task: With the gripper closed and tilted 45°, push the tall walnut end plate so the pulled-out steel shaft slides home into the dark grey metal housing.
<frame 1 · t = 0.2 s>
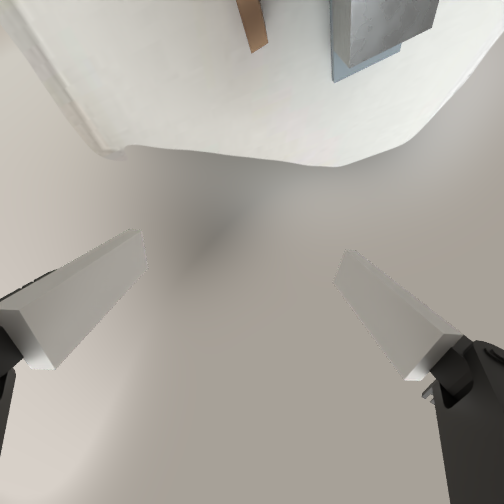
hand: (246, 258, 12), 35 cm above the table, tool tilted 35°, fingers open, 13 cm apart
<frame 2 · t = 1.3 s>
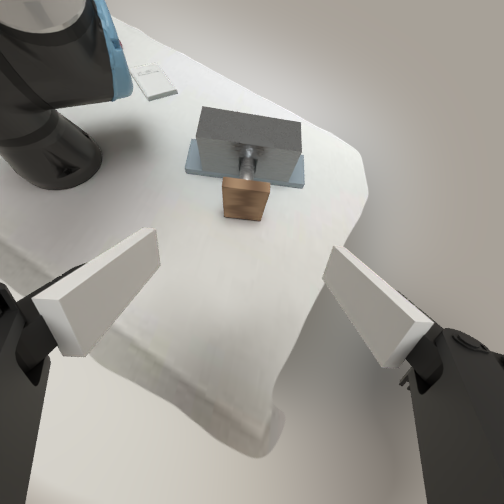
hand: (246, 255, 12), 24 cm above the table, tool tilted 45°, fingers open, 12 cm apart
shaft: (246, 181, 36), point 6 cm above the table, slide at 8.0 cm
housing: (246, 171, 44), on the table
external hard drive: (154, 86, 50), on the table
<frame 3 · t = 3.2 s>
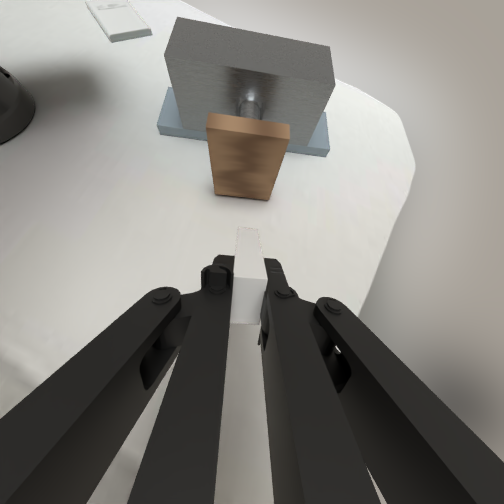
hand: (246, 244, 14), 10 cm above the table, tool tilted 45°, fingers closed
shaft: (247, 136, 23), point 6 cm above the table, slide at 8.0 cm
housing: (247, 132, 31), on the table
external hard drive: (122, 27, 37), on the table
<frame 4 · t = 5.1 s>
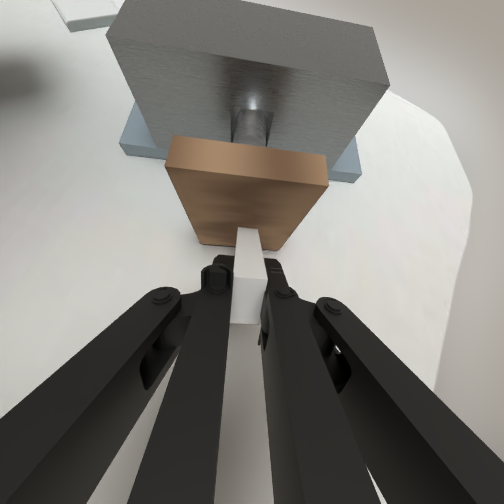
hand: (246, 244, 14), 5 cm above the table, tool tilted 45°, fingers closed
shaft: (248, 163, 15), point 6 cm above the table, slide at 7.8 cm, touching gripper
housing: (247, 150, 23), on the table
external hard drive: (89, 13, 29), on the table
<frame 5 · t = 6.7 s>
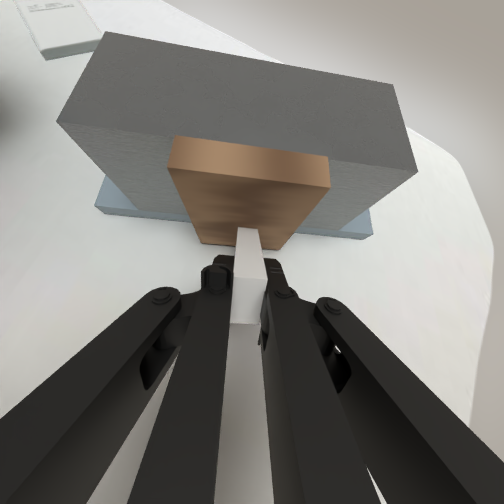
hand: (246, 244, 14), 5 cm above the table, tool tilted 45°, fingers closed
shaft: (249, 163, 15), point 5 cm above the table, slide at -0.1 cm, touching gripper
housing: (244, 203, 20), on the table
external hard drive: (68, 35, 26), on the table
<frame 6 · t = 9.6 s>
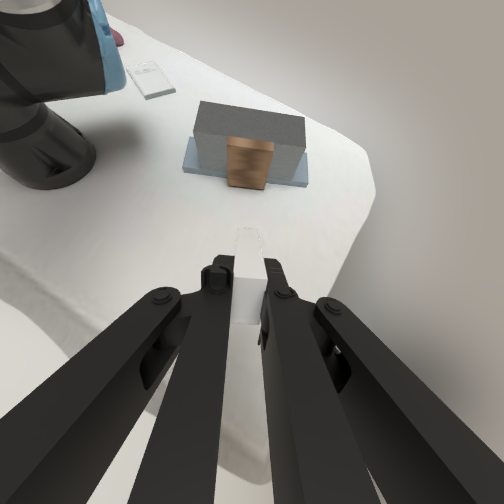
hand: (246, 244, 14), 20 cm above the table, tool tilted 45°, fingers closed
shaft: (249, 148, 37), point 6 cm above the table, slide at 0.0 cm
housing: (247, 169, 42), on the table
video game controller: (106, 42, 52), on the table
external hard drive: (152, 85, 49), on the table
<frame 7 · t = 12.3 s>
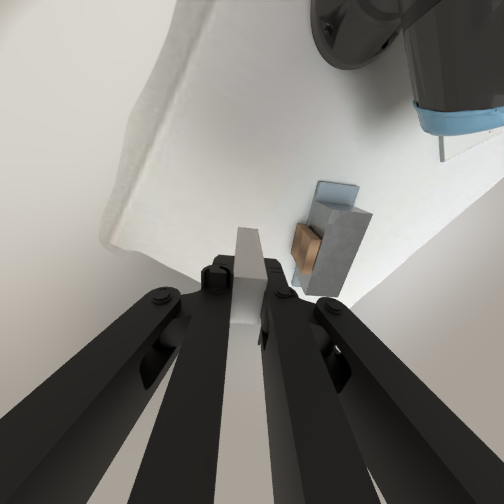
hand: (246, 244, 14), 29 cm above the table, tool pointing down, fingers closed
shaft: (323, 249, 41), point 6 cm above the table, slide at 0.0 cm
housing: (314, 240, 46), on the table
external hard drive: (467, 126, 37), on the table
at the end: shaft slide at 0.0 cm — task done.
